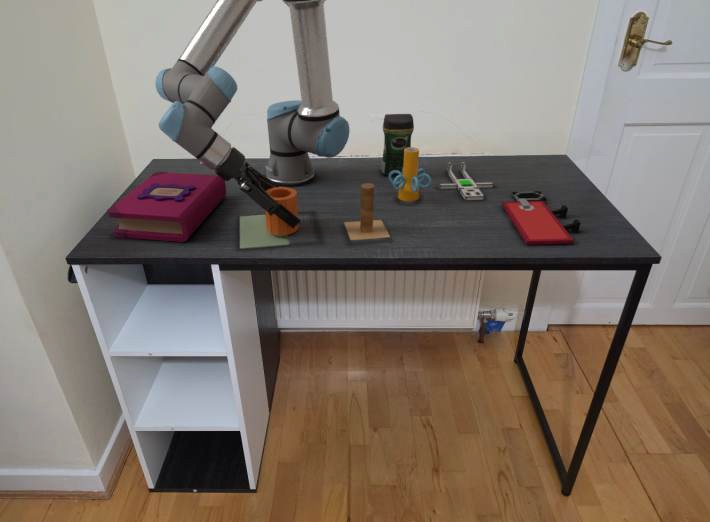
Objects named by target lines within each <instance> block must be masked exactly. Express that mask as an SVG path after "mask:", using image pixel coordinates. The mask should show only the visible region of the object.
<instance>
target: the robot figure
mask: <svg viewBox="0 0 710 522" xmlns="http://www.w3.org/2000/svg"><path fill="white" fill-rule="evenodd" d="M466 168H467V163H466V161H461V165H460V174H461V175H462V176H463V178H461V179H460V178H459V179H458V177H457V176H456V175H455V173H454V172H453V162H448V163H447V169H446V172H447V175H448V176H449V178H450V179H451V181H452V183H439V184H438V189H439V190H449V189H451V190H453V189H457V190H458V191H459V192H460V195H461V196H462V198H463V199H464V201H484V200H485V195H484V193H483V192H482V191H481V189H482V188H484V189H485V188H486V189H487V188H494V187H495V186H494V185H495V183H494V182H475V181H474V180H473V178H472V177H471V176H470V174H469V173H468V171H467V170H466Z"/></svg>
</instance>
